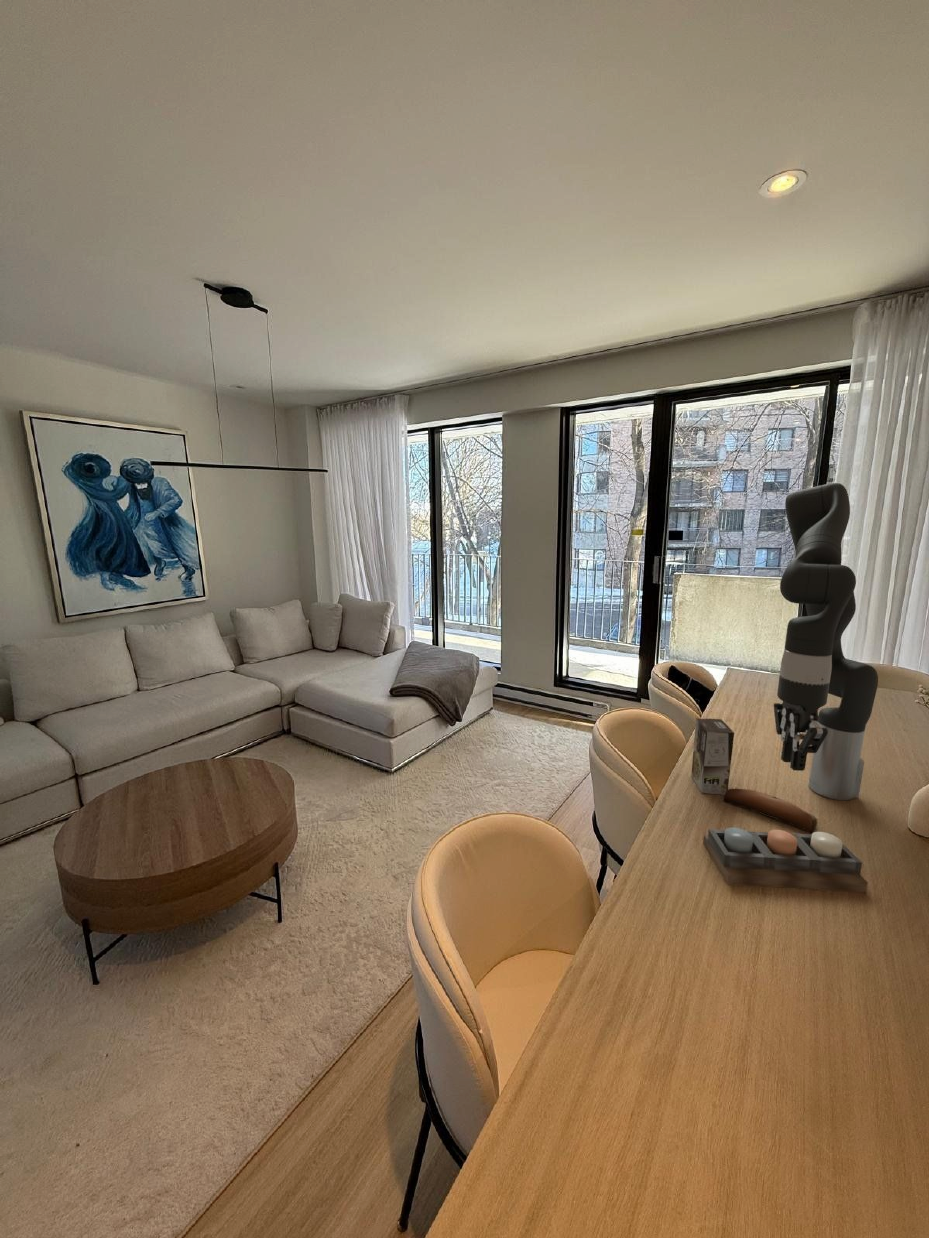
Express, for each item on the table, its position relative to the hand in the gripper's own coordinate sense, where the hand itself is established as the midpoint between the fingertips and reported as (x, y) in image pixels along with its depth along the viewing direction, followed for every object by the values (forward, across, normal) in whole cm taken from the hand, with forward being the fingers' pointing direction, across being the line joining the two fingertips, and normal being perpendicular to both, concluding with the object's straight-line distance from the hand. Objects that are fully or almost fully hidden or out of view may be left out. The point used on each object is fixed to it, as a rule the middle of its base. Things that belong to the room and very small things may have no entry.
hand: (792, 764), depth 94 cm
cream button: (+18, 0, -8) cm, 20 cm away
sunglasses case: (+22, +20, -8) cm, 30 cm away
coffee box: (+21, +30, +2) cm, 37 cm away
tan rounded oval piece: (+18, 0, 0) cm, 18 cm away
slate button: (+18, 0, +8) cm, 20 cm away
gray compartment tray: (+21, 0, 0) cm, 21 cm away
